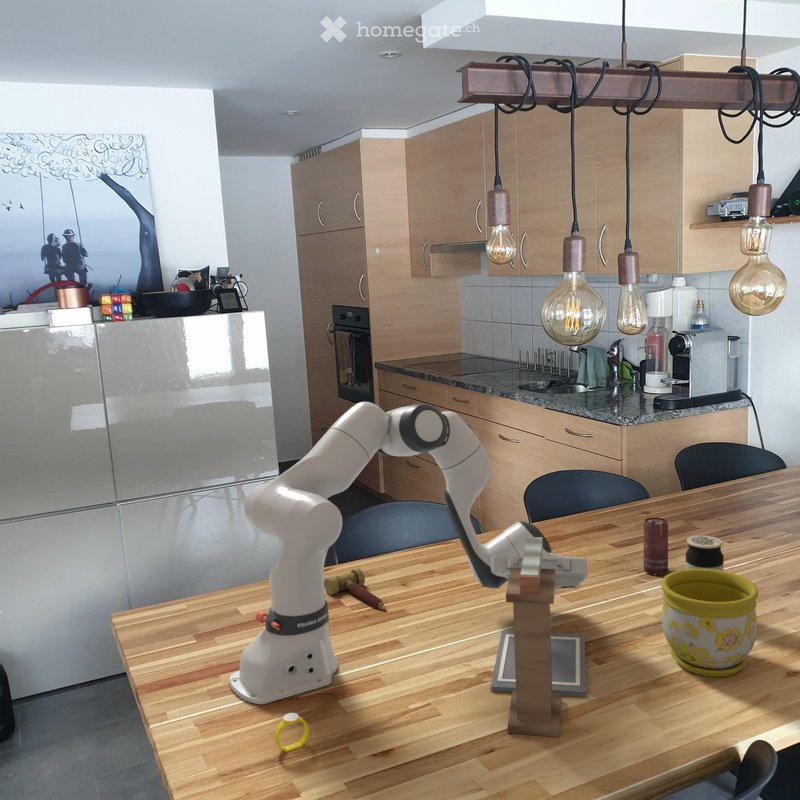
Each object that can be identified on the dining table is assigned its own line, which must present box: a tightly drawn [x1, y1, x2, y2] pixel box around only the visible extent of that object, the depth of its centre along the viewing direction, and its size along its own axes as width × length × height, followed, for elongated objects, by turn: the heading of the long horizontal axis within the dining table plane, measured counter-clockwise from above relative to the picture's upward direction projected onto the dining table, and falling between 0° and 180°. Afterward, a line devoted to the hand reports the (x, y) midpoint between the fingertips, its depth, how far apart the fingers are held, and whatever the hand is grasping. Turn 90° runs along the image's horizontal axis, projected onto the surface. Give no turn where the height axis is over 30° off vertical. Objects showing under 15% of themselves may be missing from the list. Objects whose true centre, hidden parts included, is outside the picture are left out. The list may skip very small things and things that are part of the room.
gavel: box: [324, 567, 387, 611], centre depth 202 cm, size 21×5×10 cm
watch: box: [273, 712, 310, 753], centre depth 139 cm, size 6×3×6 cm, turn 119°
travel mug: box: [685, 535, 725, 571], centre depth 180 cm, size 8×8×18 cm
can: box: [643, 517, 669, 576], centre depth 207 cm, size 6×6×14 cm
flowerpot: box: [660, 568, 759, 678], centre depth 160 cm, size 18×18×16 cm
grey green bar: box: [519, 537, 543, 594], centre depth 145 cm, size 20×3×3 cm, turn 168°
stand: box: [505, 568, 562, 738], centre depth 143 cm, size 12×9×26 cm
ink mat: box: [490, 630, 587, 698], centre depth 164 cm, size 24×18×1 cm
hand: (537, 561), depth 164 cm, fingers open, 8 cm apart
